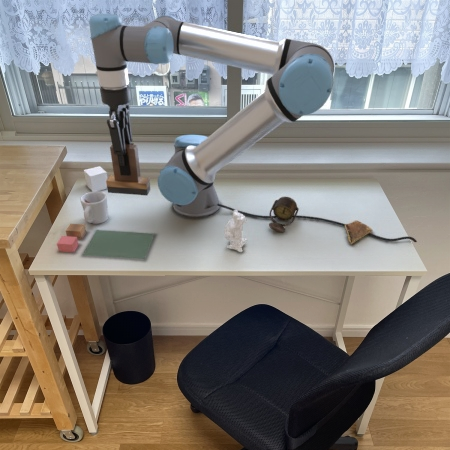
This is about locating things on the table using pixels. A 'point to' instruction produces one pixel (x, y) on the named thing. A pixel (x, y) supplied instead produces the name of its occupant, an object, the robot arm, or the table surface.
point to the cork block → (76, 230)
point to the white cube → (96, 178)
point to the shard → (357, 231)
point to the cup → (95, 207)
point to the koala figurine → (235, 231)
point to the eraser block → (67, 244)
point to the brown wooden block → (128, 183)
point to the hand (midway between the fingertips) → (127, 171)
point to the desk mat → (119, 244)
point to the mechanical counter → (283, 213)
